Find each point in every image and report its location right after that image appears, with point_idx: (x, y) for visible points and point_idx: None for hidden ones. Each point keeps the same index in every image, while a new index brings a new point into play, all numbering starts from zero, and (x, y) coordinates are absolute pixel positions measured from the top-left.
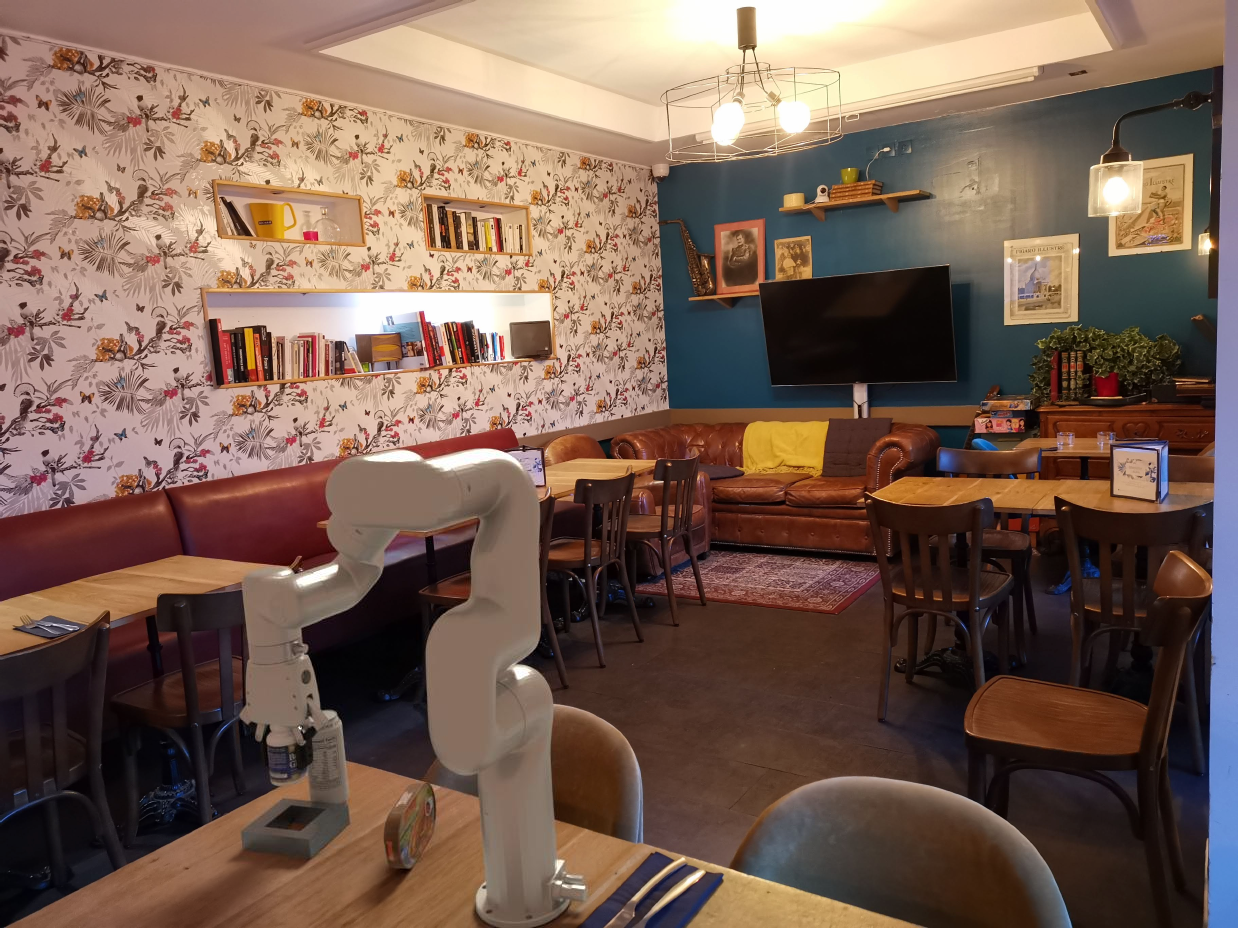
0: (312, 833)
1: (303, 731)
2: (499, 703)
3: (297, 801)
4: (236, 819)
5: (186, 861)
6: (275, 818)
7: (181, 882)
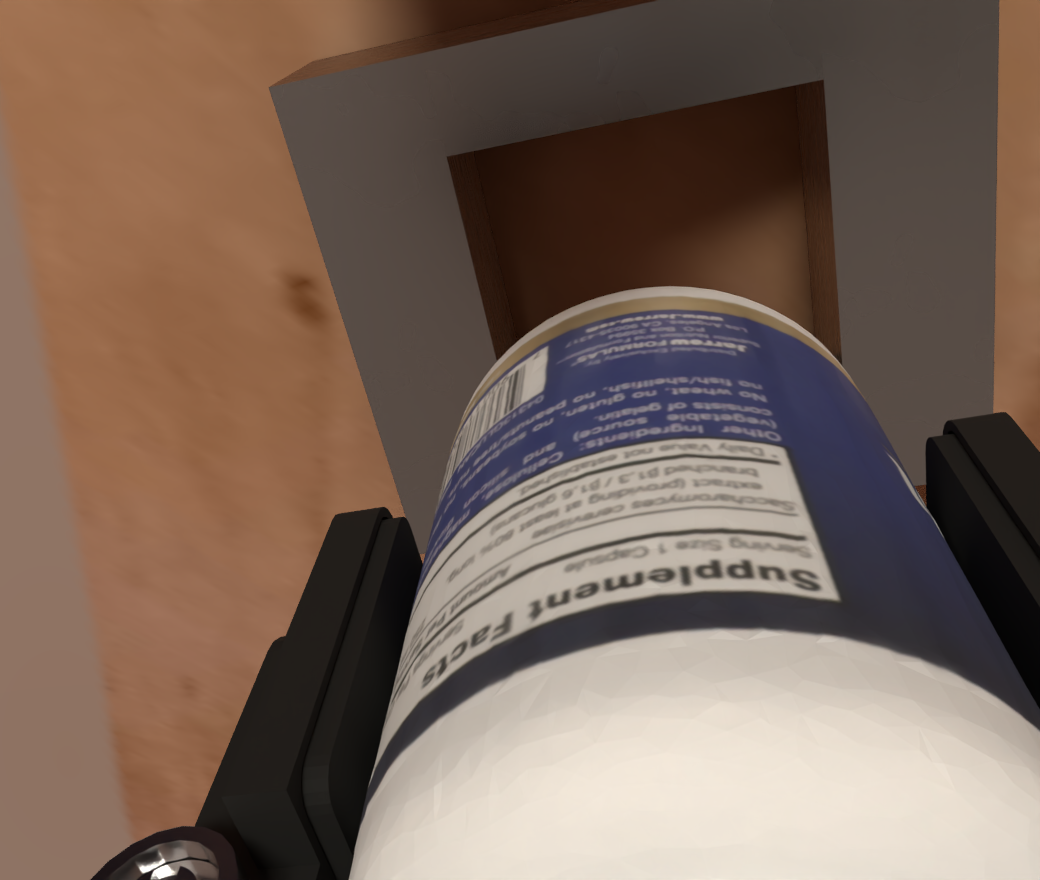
0: (964, 410)
1: (1034, 773)
2: None
3: (448, 84)
4: (40, 250)
5: (253, 647)
6: (495, 347)
7: None
